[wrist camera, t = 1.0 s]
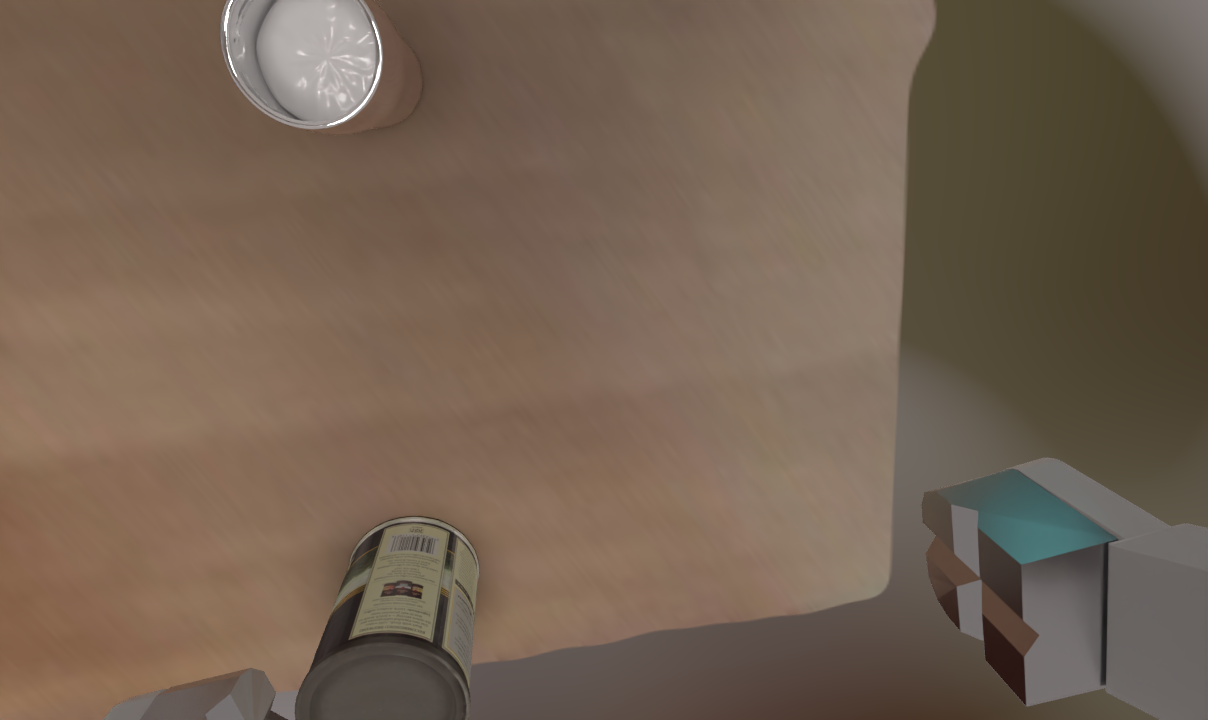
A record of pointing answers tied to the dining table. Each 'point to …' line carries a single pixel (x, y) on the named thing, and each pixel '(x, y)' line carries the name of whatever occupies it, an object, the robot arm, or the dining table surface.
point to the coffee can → (398, 629)
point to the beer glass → (321, 63)
